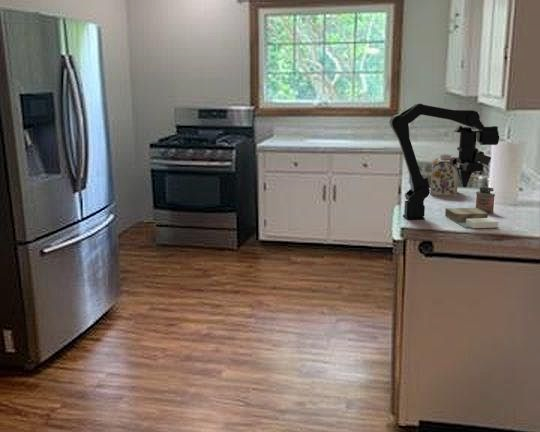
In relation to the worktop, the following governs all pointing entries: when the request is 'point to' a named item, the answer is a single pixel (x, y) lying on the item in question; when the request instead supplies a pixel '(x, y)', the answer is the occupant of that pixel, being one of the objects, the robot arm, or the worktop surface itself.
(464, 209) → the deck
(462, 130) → the robot arm
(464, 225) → the mat
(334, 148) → the worktop surface
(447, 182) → the decorative jar
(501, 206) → the worktop surface
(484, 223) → the rectangular block
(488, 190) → the lighter
